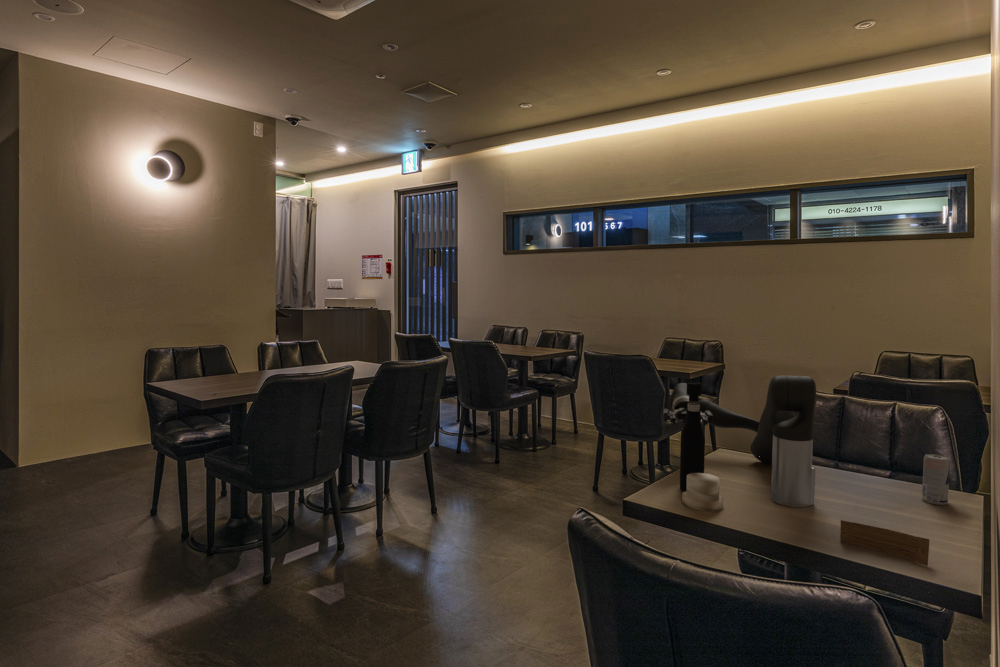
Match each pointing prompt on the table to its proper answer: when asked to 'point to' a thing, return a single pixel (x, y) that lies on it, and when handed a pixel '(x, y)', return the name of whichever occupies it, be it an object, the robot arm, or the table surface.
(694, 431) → the black bottle
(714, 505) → the plinth
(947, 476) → the energy drink
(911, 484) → the table surface
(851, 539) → the wood plank
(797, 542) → the table surface
